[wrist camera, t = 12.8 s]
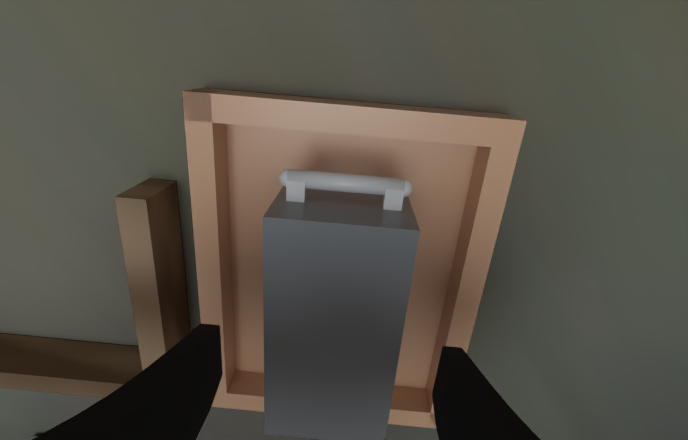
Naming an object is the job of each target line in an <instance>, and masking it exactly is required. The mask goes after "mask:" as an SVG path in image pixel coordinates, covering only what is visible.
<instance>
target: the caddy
mask: <svg viewBox="0 0 688 440" xmlns="http://www.w3.org/2000/svg"><path fill="white" fill-rule="evenodd" d="M279 181H280V183H281V184H282V185H283V187H282V189H281V190H280V192H279V193H278V195H277V196H276V198H275V199H274V201H273V202H272V204H271V205H270V207H269V208H268V210H267V211H266V213H265V214H264V216H263V310H264V434H268V435H278V436H289V437H299V438H310V439H320V440H385V438H386V432H387V426H388V420H389V414H390V408H391V402H392V396H393V390H394V384H395V378H396V372H397V366H398V360H399V354H400V348H401V342H402V336H403V330H404V324H405V318H406V312H407V306H408V300H409V294H410V288H411V282H412V276H413V270H414V264H415V258H416V252H417V246H418V240H419V234H420V229H419V226H418V223H417V220H416V217H415V214H414V212H413V209H412V206H411V203H410V200H409V197H408V195H410V194H411V192H412V190H413V186H412V183H411V182H410V181H409V180H407V179H402V178H390V177H379V176H367V175H355V174H344V173H332V172H320V171H309V170H297V169H284V170H283V171H282V172H281V173H280V175H279Z"/></svg>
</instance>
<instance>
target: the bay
mask: <svg viewBox="0 0 688 440" xmlns="http://www.w3.org/2000/svg"><path fill="white" fill-rule="evenodd" d="M115 203H116V209H117V216H118V222H119V228H120V234H121V240H122V247H123V253H124V259H125V265H126V271H127V278H128V284H129V290H130V296H131V302H132V308H133V315H134V321H135V327H136V333H137V339H138V346H139V347H137V346H127V345H116V344H106V343H95V342H85V341H75V340H64V339H54V338H43V337H33V336H22V335H12V334H1V333H0V388H10V389H20V390H30V391H41V392H51V393H61V394H71V395H82V396H92V397H102V398H105V397H106V396H108V395H109V394H111V393H112V392H114V391H115V390H117V389H118V388H120V387H121V386H122V385H124V384H125V383H126V382H128V381H129V380H131V379H132V378H133V377H135V376H136V375H137V374H139V373H140V372H142V371H143V370H144V369H145V368H147V367H148V366H149V365H151V364H152V363H153V362H154V361H156V360H157V359H158V358H159V357H161V356H162V355H163V354H165V353H166V352H167V351H168V350H169V349H171V348H172V347H173V346H174V345H176V344H177V343H178V342H179V341H180V340H182V339H183V338H184V337H185V336H186V335H188V334H189V333H190V323H189V312H188V302H187V291H186V280H185V270H184V259H183V249H182V238H181V227H180V217H179V206H178V196H177V185H176V181H170V180H159V179H147V180H145V181H144V182H142V183H140V184H138V185H136V186H134V187H132V188H130V189H128V190H127V191H125V192H123V193H121V194H119V195H117V196H115Z"/></svg>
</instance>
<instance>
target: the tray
mask: <svg viewBox="0 0 688 440" xmlns="http://www.w3.org/2000/svg"><path fill="white" fill-rule="evenodd" d="M182 95H183V107H184V120H185V132H186V145H187V157H188V170H189V182H190V195H191V207H192V220H193V232H194V244H195V257H196V269H197V282H198V294H199V307H200V319H201V323H202V324H212V325H220V336H221V354H222V372H223V374H222V378H221V381H220V384H219V387H218V390H217V393H216V395H215V398H214V401H213V404H212V406H211V407H220V408H231V409H241V410H251V411H261V412H264V310H263V216H264V214H265V213H266V211H267V210H268V208H269V207H270V205H271V204H272V202H273V201H274V199H275V198H276V196H277V195H278V193H279V192H280V190H281V189H282V187H283V185H282V184H281V183H280V181H279V175H280V173H281V172H282V171H283V170H284V169H297V170H309V171H320V172H332V173H344V174H355V175H367V176H379V177H390V178H402V179H407V180H409V181H410V182H411V183H412V186H413V190H412V192H411V194H410V195H408V197H409V200H410V203H411V206H412V209H413V212H414V214H415V217H416V220H417V223H418V226H419V229H420V234H419V240H418V246H417V252H416V258H415V264H414V270H413V276H412V282H411V288H410V294H409V300H408V306H407V312H406V318H405V324H404V330H403V336H402V342H401V348H400V354H399V360H398V366H397V372H396V378H395V384H394V390H393V396H392V402H391V408H390V414H389V420H388V424H395V425H405V426H416V427H426V428H436V422H435V415H434V407H433V399H432V391H433V387H434V382H435V378H436V373H437V369H438V364H439V360H440V355H441V351H442V346H449V347H460V348H462V349H463V350H464V351H465V352H466V354H467V351H468V347H469V343H470V339H471V335H472V332H473V328H474V324H475V320H476V316H477V312H478V308H479V304H480V301H481V297H482V293H483V289H484V285H485V281H486V277H487V273H488V270H489V266H490V262H491V258H492V254H493V250H494V246H495V242H496V239H497V235H498V231H499V227H500V223H501V219H502V215H503V211H504V207H505V204H506V200H507V196H508V192H509V188H510V184H511V180H512V176H513V173H514V169H515V165H516V161H517V157H518V153H519V149H520V145H521V142H522V138H523V134H524V130H525V126H526V122H527V121H525V120H523V119H520V118H517V117H514V116H511V115H508V114H500V113H489V112H477V111H466V110H454V109H443V108H431V107H420V106H408V105H397V104H385V103H374V102H362V101H351V100H339V99H328V98H316V97H305V96H293V95H282V94H270V93H259V92H247V91H236V90H224V89H213V88H199V89H192V90H185V91H182ZM436 429H437V428H436Z"/></svg>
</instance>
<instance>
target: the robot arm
mask: <svg viewBox="0 0 688 440" xmlns="http://www.w3.org/2000/svg"><path fill="white" fill-rule="evenodd" d="M222 374H223V372H222V354H221V336H220V325H212V324H202V323H201V324H200V325H199V326H197V327H196V328H195V329H194V330H192V331H191V332H190V333H189V334H188V335H186V336H185V337H184V338H183V339H182V340H180V341H179V342H178V343H177V344H176V345H174V346H173V347H172V348H171V349H169V350H168V351H167V352H166V353H165V354H163V355H162V356H161V357H159V358H158V359H157V360H156V361H154V362H153V363H152V364H151V365H149V366H148V367H147V368H145V369H144V370H143V371H142V372H140V373H139V374H137V375H136V376H135V377H133V378H132V379H131V380H129V381H128V382H126V383H125V384H124V385H122V386H121V387H120V388H118V389H117V390H115V391H114V392H112V393H111V394H109V395H108V396H106V397H105V398H103V399H102V400H100V401H98V402H97V403H95V404H94V405H92V406H90V407H89V408H87V409H86V410H84V411H82V412H81V413H79V414H77V415H76V416H74V417H72V418H70V419H68V420H67V421H65V422H63V423H61V424H59V425H58V426H56V427H54V428H52V429H50V430H49V431H47V432H45V433H43V434H41V435H40V436H34V437H31V438H30V440H196V438H197V436H198V434H199V432H200V430H201V427H202V425H203V423H204V421H205V419H206V417H207V415H208V413H209V411H210V408H211V406H212V404H213V401H214V398H215V395H216V393H217V390H218V387H219V384H220V381H221V378H222ZM432 399H433V407H434V415H435V422H436V428H437V433H438V437H439V440H540V439H539V438H538V437H537V436H536V435H535V434H534V433H533V432H532V431H531V430H530V428H529V427H528V426H527V425H526V424H525V423H524V422H523V421H522V420H521V419H520V418H519V417H518V416H517V415H516V413H515V412H514V411H513V410H512V409H511V408H510V407H509V406H508V404H507V403H506V402H505V401H504V400H503V399H502V397H501V396H500V395H499V394H498V393H497V391H496V390H495V389H494V388H493V387H492V385H491V384H490V383H489V382H488V380H487V379H486V378H485V377H484V375H483V374H482V373H481V372H480V370H479V369H478V368H477V366H476V365H475V364H474V363H473V361H472V360H471V359H470V358H469V356H468V355H467V354H466V352H465V351H464V350H463V349H462V348H460V347H449V346H442V351H441V355H440V360H439V364H438V369H437V373H436V378H435V382H434V387H433V391H432Z"/></svg>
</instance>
